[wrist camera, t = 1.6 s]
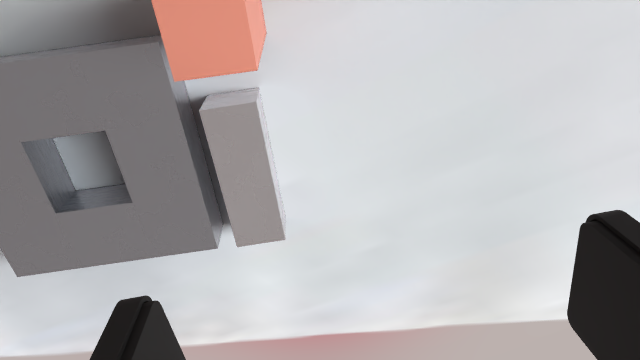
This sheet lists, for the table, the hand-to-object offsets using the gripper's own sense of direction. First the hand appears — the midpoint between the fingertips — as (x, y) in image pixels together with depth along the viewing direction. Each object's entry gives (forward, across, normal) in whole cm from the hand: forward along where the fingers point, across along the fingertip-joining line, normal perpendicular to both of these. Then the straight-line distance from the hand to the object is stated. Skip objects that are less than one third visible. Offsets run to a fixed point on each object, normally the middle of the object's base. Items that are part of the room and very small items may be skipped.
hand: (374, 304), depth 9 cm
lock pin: (+20, +4, -5) cm, 21 cm away
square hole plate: (+20, +15, +2) cm, 26 cm away
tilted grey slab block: (+21, +5, +5) cm, 22 cm away
